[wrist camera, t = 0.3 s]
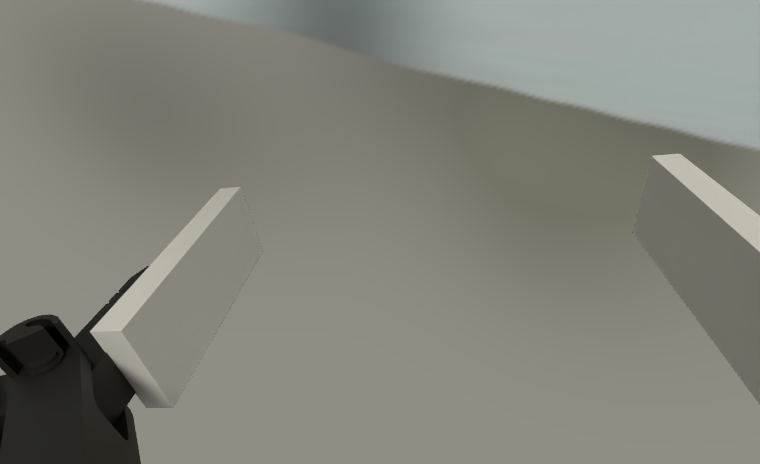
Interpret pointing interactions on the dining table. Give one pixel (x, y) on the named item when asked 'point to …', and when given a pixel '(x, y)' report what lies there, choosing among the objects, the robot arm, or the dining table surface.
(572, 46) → the dining table surface
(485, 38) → the dining table surface
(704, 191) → the robot arm
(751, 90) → the dining table surface
